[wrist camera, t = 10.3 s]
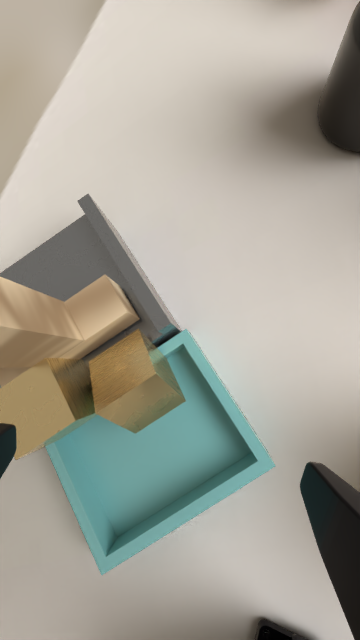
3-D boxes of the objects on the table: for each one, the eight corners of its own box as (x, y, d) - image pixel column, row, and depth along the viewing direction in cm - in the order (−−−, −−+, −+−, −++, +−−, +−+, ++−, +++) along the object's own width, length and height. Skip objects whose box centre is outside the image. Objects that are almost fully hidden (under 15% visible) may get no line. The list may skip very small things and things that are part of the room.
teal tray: (268, 452, 19) (275, 465, 16) (116, 548, 19) (101, 575, 17) (190, 332, 21) (186, 328, 19) (57, 420, 22) (36, 427, 19)
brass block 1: (107, 408, 17) (75, 420, 13) (61, 438, 18) (15, 460, 14) (82, 359, 18) (45, 357, 14) (38, 388, 18) (-11, 395, 15)
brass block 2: (166, 358, 19) (186, 400, 16) (123, 386, 19) (135, 433, 16) (138, 328, 16) (156, 373, 13) (88, 361, 17) (95, 413, 14)
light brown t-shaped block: (140, 319, 18) (-34, 222, 6) (33, 390, 18) (-348, 444, 6) (119, 286, 18) (-74, 136, 6) (17, 355, 19) (-353, 340, 7)
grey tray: (183, 333, 21) (171, 323, 16) (60, 414, 22) (9, 430, 17) (117, 231, 24) (88, 193, 19) (9, 305, 25) (-49, 289, 19)
